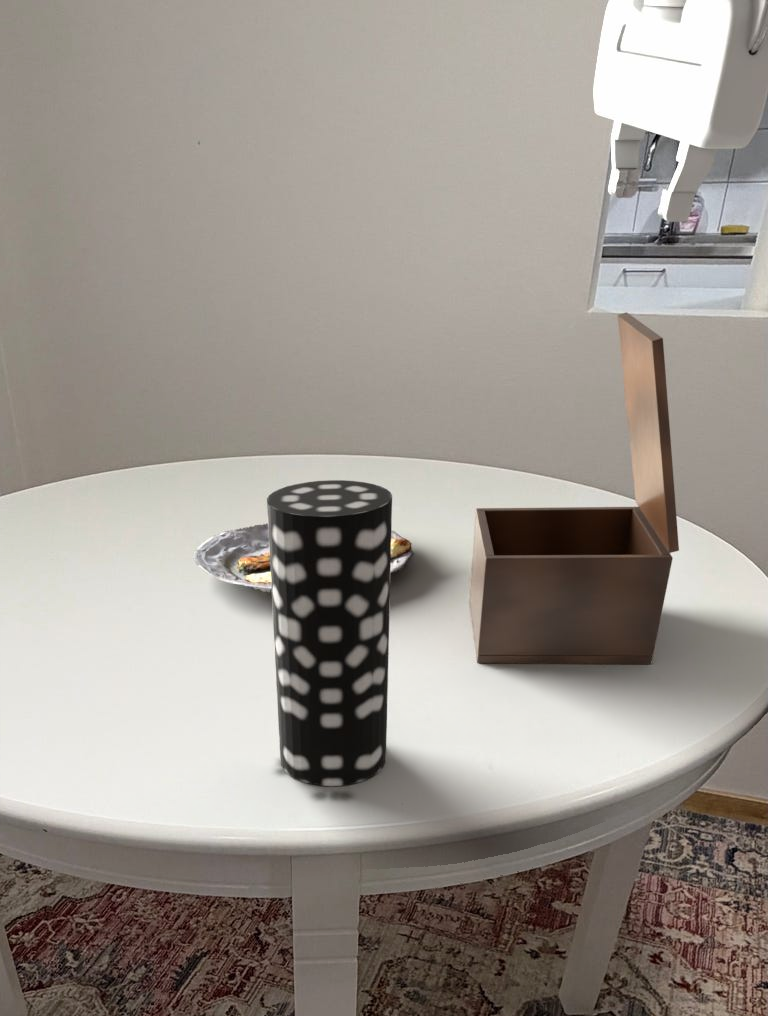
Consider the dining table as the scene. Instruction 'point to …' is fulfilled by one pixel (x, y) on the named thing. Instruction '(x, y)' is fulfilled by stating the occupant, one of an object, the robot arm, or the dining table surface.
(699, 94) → the robot arm
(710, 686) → the dining table surface
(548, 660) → the chest
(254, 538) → the food plate
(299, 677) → the white-spotted black cylinder
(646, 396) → the lid
